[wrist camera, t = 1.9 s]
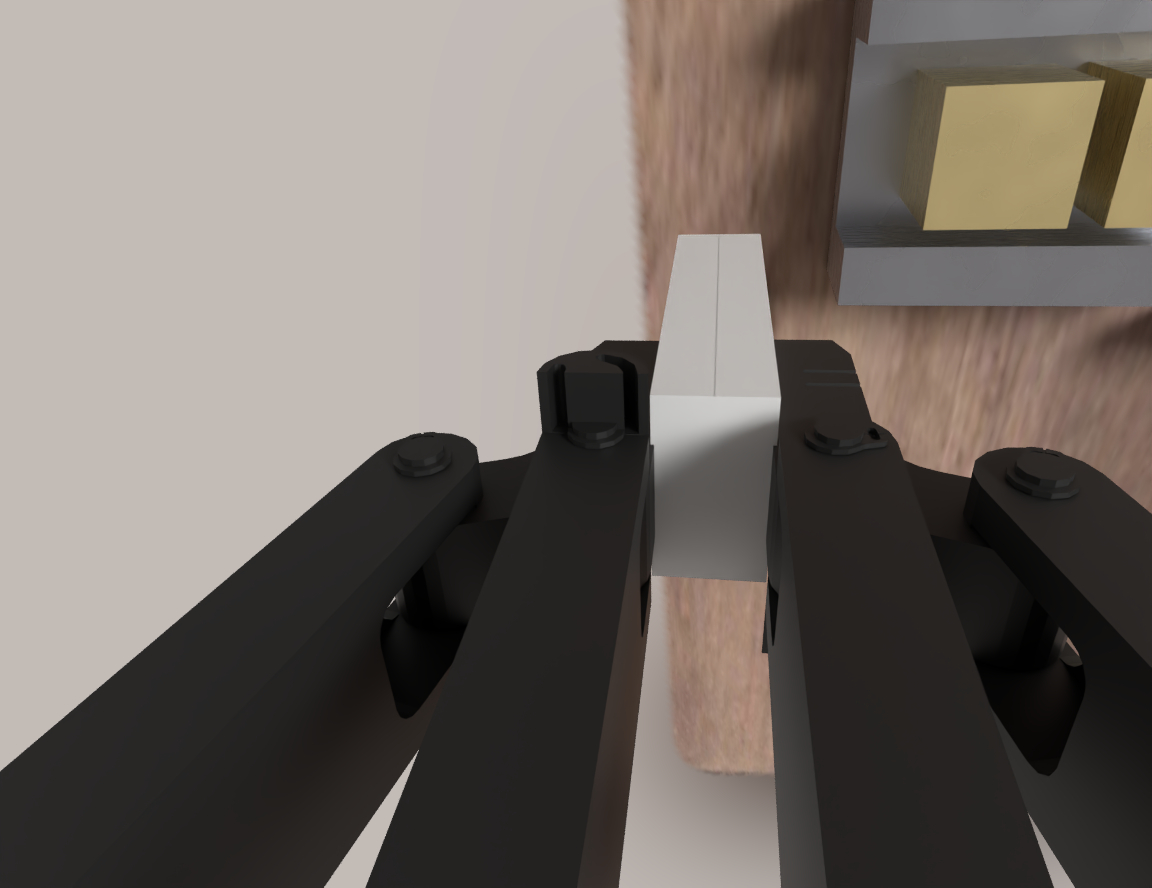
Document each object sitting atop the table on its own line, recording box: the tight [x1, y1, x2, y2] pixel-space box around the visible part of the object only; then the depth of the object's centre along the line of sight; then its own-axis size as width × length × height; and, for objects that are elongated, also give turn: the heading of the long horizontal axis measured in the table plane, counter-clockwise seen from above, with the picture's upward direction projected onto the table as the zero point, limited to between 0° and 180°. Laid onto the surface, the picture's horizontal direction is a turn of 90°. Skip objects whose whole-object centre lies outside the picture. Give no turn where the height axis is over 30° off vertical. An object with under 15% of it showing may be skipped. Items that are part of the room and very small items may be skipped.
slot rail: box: [827, 0, 1152, 306], centre depth 25 cm, size 10×12×4 cm
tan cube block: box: [899, 63, 1105, 230], centre depth 25 cm, size 4×4×4 cm
